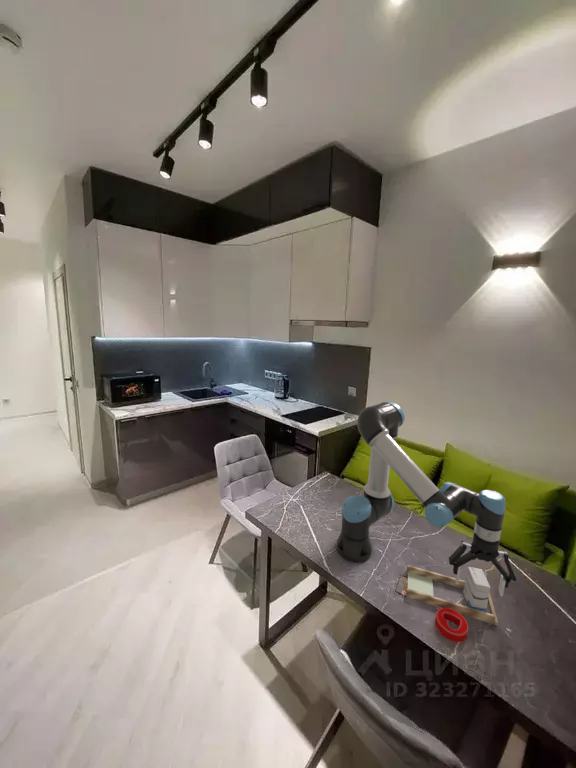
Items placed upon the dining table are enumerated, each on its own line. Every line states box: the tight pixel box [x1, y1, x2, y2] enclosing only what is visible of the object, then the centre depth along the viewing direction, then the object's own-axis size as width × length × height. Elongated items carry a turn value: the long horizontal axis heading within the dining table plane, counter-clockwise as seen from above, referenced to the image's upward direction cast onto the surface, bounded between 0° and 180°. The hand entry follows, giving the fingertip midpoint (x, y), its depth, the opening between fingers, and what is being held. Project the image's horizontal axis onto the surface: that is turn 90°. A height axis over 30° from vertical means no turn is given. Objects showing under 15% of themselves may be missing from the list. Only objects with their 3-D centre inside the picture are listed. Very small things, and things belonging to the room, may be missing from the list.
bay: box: [406, 564, 499, 626], centre depth 117 cm, size 29×13×3 cm, turn 69°
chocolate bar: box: [394, 574, 408, 598], centre depth 121 cm, size 11×5×1 cm, turn 147°
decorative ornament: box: [434, 607, 469, 643], centre depth 105 cm, size 10×10×3 cm
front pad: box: [407, 572, 435, 597], centre depth 121 cm, size 9×11×1 cm
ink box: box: [462, 566, 491, 612], centre depth 113 cm, size 8×5×12 cm, turn 168°
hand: (478, 587), depth 112 cm, fingers open, 13 cm apart
